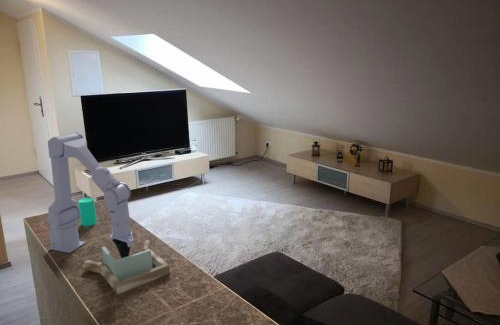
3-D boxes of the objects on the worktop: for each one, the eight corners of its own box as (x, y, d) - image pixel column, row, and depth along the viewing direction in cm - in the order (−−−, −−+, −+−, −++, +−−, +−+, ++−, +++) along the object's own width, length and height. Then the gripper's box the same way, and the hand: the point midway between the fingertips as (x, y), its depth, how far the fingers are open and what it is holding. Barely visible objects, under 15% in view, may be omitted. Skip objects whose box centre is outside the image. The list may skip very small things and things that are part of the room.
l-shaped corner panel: (152, 271, 122) (150, 250, 120) (115, 284, 116) (112, 262, 114) (139, 256, 132) (137, 236, 130) (104, 267, 125) (101, 247, 123)
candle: (93, 226, 156) (89, 199, 153) (79, 226, 157) (75, 199, 153) (99, 220, 162) (95, 194, 159) (85, 220, 162) (81, 194, 159)
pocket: (85, 269, 124) (83, 261, 123) (149, 246, 138) (148, 239, 137) (108, 298, 109) (107, 289, 108) (177, 269, 123) (177, 261, 122)
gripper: (100, 217, 125) (105, 253, 129) (116, 231, 115) (121, 271, 118) (120, 211, 130) (125, 247, 133) (138, 225, 119) (143, 263, 123)
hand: (125, 257), depth 126 cm, fingers closed
